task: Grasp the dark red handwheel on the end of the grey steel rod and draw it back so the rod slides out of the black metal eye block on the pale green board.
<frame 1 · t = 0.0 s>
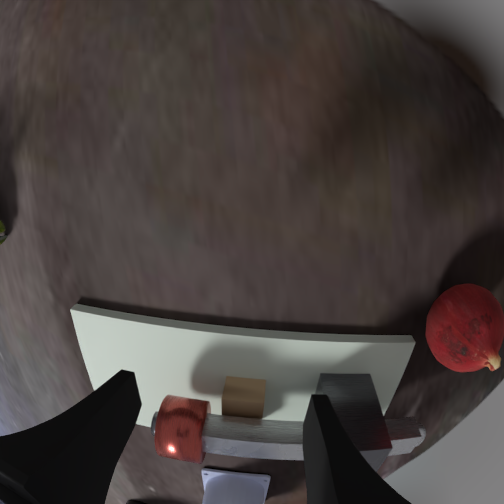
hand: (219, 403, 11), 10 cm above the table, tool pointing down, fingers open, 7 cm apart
brown rectangular block: (244, 399, 23), resting on board
red kuri squash: (442, 300, 20), on the table
board: (233, 389, 24), on the table
rod: (297, 440, 19), point 5 cm above the table, slide at 0.0 cm
eye block: (335, 403, 23), resting on board
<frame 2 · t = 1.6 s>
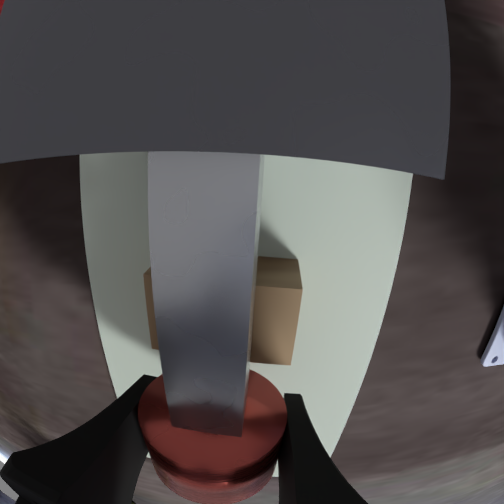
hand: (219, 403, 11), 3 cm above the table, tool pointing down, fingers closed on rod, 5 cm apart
brown rectangular block: (230, 289, 12), resting on board
board: (232, 299, 14), on the table
rod: (211, 205, 7), point 5 cm above the table, slide at 0.0 cm, touching gripper
eye block: (239, 90, 10), resting on board
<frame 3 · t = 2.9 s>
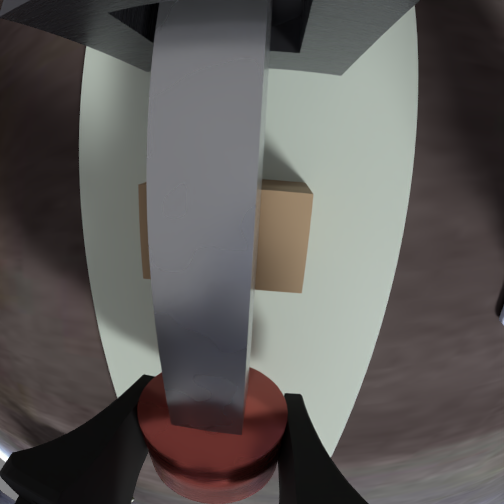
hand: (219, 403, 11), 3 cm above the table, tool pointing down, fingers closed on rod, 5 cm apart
brown rectangular block: (232, 218, 11), resting on board
board: (234, 236, 13), on the table
rod: (210, 200, 7), point 5 cm above the table, slide at 2.8 cm, touching gripper
eye block: (243, 19, 9), resting on board
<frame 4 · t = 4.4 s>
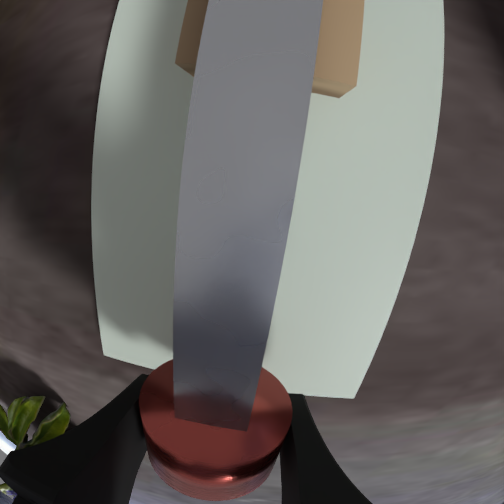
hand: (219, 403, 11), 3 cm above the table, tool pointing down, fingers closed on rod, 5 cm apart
brown rectangular block: (273, 47, 9), resting on board
board: (270, 78, 10), on the table
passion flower: (58, 427, 20), on the table
rod: (241, 189, 7), point 5 cm above the table, slide at 8.8 cm, touching gripper
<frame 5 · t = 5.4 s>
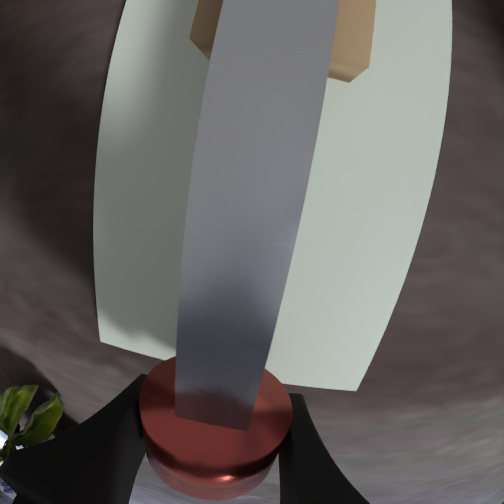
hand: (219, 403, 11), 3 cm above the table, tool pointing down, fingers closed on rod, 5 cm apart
brown rectangular block: (285, 31, 9), resting on board
board: (280, 62, 10), on the table
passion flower: (51, 419, 20), on the table
rod: (250, 188, 7), point 5 cm above the table, slide at 9.5 cm, touching gripper
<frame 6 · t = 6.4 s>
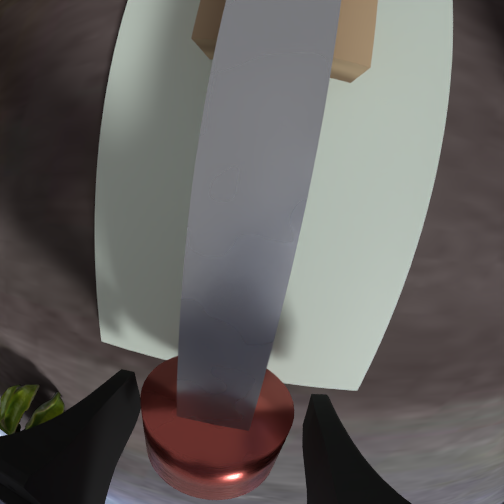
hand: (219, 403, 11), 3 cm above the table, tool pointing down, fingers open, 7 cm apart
brown rectangular block: (286, 31, 9), resting on board
board: (282, 62, 10), on the table
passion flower: (52, 418, 20), on the table
rod: (252, 188, 7), point 5 cm above the table, slide at 9.5 cm
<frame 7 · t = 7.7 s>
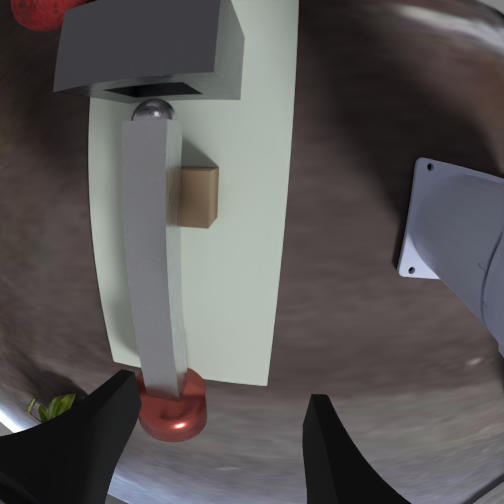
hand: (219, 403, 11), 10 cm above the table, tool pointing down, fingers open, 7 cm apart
brown rectangular block: (177, 190, 18), resting on board
red kuri squash: (81, 8, 15), on the table
board: (182, 203, 19), on the table
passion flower: (85, 418, 30), on the table
rod: (157, 301, 16), point 5 cm above the table, slide at 9.5 cm
eye block: (183, 68, 16), resting on board
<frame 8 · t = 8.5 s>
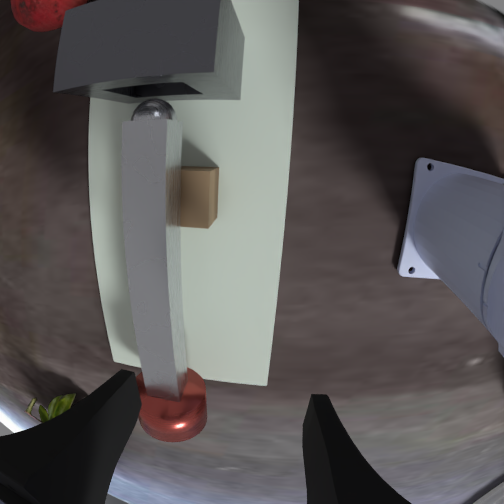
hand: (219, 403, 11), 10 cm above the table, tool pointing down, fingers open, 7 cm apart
brown rectangular block: (177, 190, 18), resting on board
red kuri squash: (81, 8, 15), on the table
board: (182, 203, 19), on the table
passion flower: (85, 418, 30), on the table
rod: (157, 301, 16), point 5 cm above the table, slide at 9.5 cm
eye block: (183, 68, 16), resting on board
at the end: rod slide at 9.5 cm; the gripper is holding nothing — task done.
